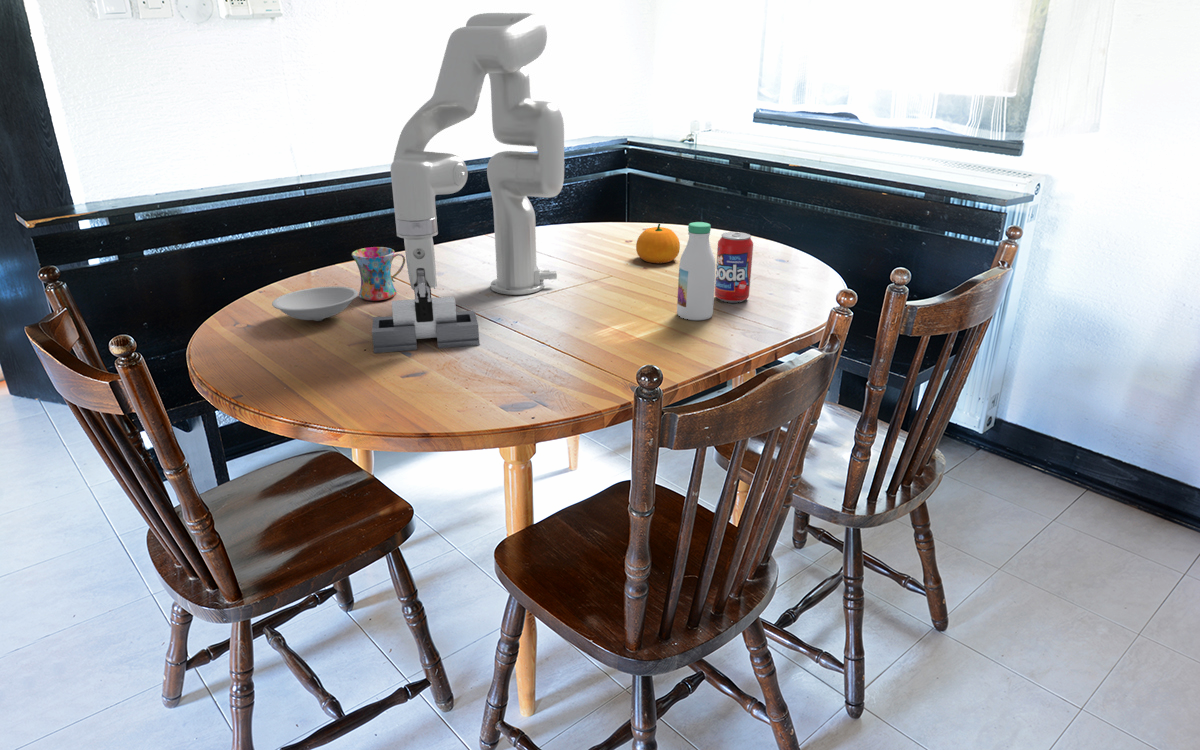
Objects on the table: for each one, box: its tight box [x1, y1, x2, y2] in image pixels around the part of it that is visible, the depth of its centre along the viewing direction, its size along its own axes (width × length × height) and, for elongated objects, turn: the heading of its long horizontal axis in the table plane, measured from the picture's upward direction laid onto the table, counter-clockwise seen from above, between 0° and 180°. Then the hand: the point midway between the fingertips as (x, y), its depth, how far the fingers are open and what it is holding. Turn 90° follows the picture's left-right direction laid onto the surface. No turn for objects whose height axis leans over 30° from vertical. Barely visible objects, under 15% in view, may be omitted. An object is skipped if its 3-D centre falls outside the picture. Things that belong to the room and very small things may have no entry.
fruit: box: [635, 223, 681, 264], centre depth 211 cm, size 12×12×10 cm
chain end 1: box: [371, 315, 418, 354], centre depth 155 cm, size 8×10×4 cm
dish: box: [271, 285, 359, 322], centre depth 167 cm, size 18×14×5 cm
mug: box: [351, 246, 406, 301], centre depth 181 cm, size 12×9×11 cm
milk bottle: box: [676, 221, 716, 321], centre depth 168 cm, size 8×8×20 cm
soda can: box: [714, 231, 754, 304], centre depth 179 cm, size 8×8×15 cm
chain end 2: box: [436, 310, 481, 349], centre depth 158 cm, size 8×10×4 cm
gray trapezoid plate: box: [391, 296, 457, 340], centre depth 156 cm, size 12×4×7 cm, turn 104°
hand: (424, 313), depth 155 cm, fingers open, 9 cm apart
